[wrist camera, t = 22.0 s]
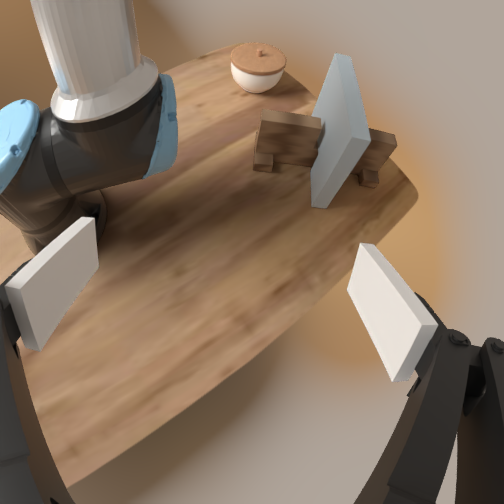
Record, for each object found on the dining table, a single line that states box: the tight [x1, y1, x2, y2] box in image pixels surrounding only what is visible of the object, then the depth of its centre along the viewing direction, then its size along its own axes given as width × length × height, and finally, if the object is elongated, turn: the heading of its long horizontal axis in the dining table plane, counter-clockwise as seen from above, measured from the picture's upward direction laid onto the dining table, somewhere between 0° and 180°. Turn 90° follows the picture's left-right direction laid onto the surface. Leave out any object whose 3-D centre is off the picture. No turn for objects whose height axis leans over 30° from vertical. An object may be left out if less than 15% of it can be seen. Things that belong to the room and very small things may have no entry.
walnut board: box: [253, 109, 397, 188], centre depth 49 cm, size 22×7×10 cm, turn 87°
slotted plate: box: [310, 53, 371, 209], centre depth 45 cm, size 18×2×18 cm, turn 177°
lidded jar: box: [231, 43, 286, 93], centre depth 55 cm, size 11×11×9 cm
